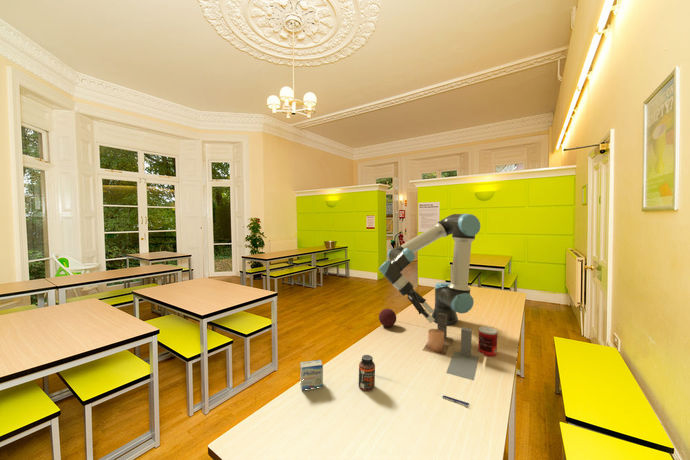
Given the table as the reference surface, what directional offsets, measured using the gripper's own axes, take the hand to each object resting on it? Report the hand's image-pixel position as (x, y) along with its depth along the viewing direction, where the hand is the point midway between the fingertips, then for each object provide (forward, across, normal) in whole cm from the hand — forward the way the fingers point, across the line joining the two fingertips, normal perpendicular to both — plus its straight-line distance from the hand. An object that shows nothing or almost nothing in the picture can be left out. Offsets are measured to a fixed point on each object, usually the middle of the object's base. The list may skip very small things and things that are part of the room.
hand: (432, 316), depth 144 cm
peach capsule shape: (+8, +13, -6) cm, 17 cm away
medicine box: (-22, +55, -39) cm, 71 cm away
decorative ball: (-9, -10, -26) cm, 29 cm away
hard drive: (+15, +44, -3) cm, 46 cm away
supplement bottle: (-8, +50, -25) cm, 56 cm away
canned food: (+26, +8, +9) cm, 28 cm away
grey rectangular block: (+17, +24, +1) cm, 30 cm away
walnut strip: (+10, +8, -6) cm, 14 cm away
